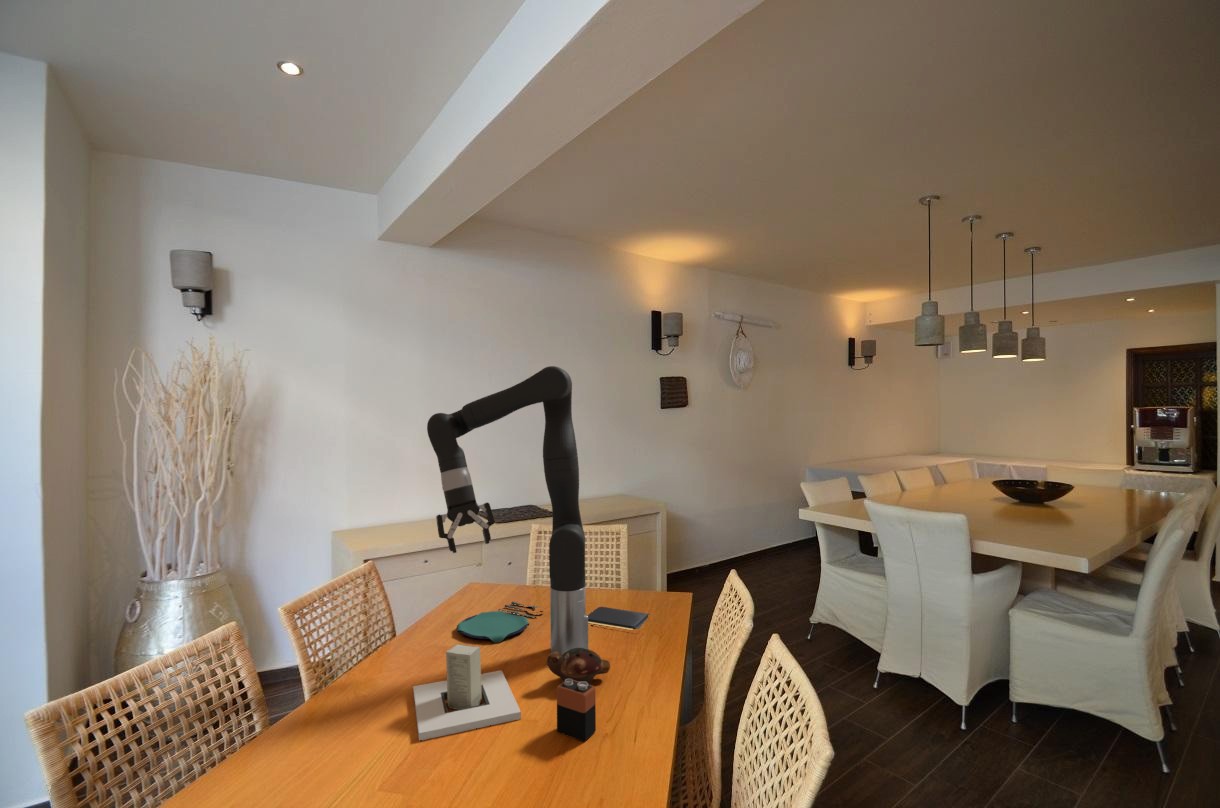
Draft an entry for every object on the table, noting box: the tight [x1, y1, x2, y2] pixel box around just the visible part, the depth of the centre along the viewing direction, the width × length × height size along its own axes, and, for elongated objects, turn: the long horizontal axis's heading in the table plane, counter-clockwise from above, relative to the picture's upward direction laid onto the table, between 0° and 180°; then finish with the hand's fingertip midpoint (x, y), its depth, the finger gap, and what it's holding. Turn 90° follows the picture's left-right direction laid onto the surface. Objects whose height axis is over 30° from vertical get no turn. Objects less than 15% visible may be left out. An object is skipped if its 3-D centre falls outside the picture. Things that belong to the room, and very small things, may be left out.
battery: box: [556, 679, 597, 742], centre depth 112 cm, size 4×7×10 cm, turn 59°
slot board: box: [412, 670, 522, 742], centre depth 122 cm, size 20×20×2 cm
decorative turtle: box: [546, 648, 611, 685], centre depth 132 cm, size 10×15×8 cm, turn 112°
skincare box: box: [445, 643, 483, 710], centre depth 122 cm, size 6×4×12 cm
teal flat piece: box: [456, 601, 539, 644], centre depth 169 cm, size 20×30×2 cm, turn 152°
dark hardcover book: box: [586, 606, 650, 630], centre depth 171 cm, size 20×2×15 cm
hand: (471, 548), depth 147 cm, fingers open, 8 cm apart
